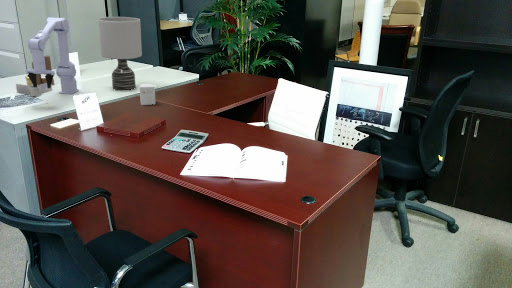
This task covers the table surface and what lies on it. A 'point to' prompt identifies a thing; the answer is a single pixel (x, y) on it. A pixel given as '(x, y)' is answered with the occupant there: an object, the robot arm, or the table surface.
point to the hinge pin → (28, 81)
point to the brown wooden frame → (48, 67)
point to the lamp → (121, 47)
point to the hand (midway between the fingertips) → (42, 87)
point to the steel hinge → (33, 89)
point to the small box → (147, 94)
